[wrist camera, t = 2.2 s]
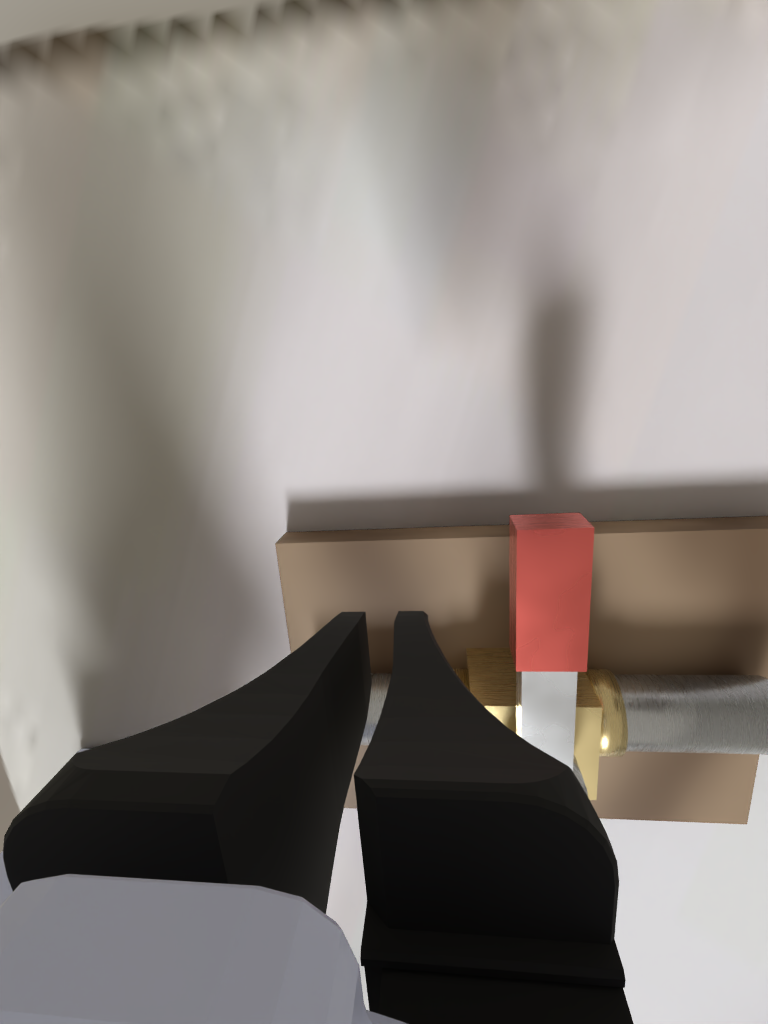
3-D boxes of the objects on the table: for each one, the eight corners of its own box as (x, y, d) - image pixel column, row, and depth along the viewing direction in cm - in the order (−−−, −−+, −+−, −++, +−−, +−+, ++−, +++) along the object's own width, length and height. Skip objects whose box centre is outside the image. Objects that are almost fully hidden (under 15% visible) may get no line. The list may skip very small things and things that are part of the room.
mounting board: (319, 781, 25) (312, 806, 24) (286, 532, 21) (275, 543, 20) (727, 795, 23) (747, 824, 21) (772, 515, 19) (799, 527, 18)
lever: (574, 793, 17) (587, 834, 15) (499, 790, 17) (505, 831, 16) (588, 510, 14) (606, 527, 13) (498, 513, 14) (505, 530, 13)
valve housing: (322, 720, 23) (299, 789, 19) (313, 645, 21) (287, 703, 18) (734, 727, 20) (801, 807, 17) (747, 644, 19) (822, 710, 15)
